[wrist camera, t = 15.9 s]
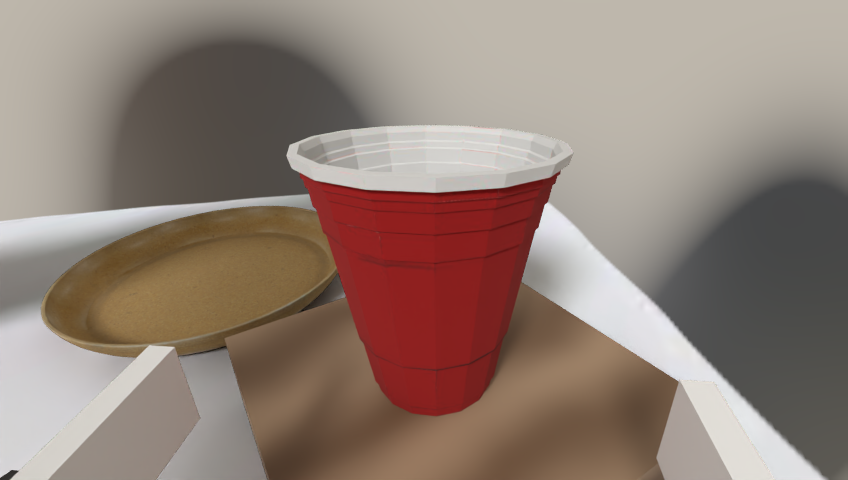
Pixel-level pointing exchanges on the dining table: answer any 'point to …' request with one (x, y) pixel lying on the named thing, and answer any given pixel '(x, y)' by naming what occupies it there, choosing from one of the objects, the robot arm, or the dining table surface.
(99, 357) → the dining table surface
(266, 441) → the walnut podium
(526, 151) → the plastic cup
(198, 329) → the plant saucer
